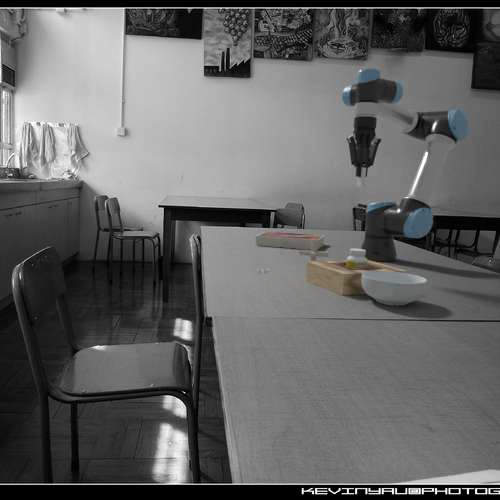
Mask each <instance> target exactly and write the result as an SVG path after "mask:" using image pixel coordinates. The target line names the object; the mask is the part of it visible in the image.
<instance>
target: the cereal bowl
mask: <svg viewBox="0 0 500 500" xmlns="http://www.w3.org/2000/svg"><path fill="white" fill-rule="evenodd" d="M361 282H362V287H363V289H364V291H365V292H366V293H367V294H366V295H368V296H369V297H371V298H372V299H373V300H375V301H376V302H377V303H378V304H381V305H382V304H383V305H385V306H386V305H388V306H393V305H394V306H395V305H396V306H395V307H397V306H398V307H400V306H399V305H402V306H406V305H407V304H409V303H413V302H416V301H418V300H420V299H421V298H422V297H424V295H425V293H426V290H427V284H428V280H427V278H425V277H422V276H419V275H416V274H411V273H407V274H406V273H400V272H391V271H367V272H364V273H362V278H361ZM405 304H406V305H405Z"/></svg>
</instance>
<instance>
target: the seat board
mask: <svg viewBox="0 0 500 500" xmlns="http://www.w3.org/2000/svg"><path fill="white" fill-rule="evenodd" d="M367 261H368V262H367V268H350V267H347V266H346V262H347V259H345V260H321V261H320V260H318V261H317V260H316V261H312V262H311V261H307V265H306V266H307V267H306V282H309V283H311V284H314V285H316V286H319V287H321V288H322V289H326V290H329V291H331V292H333V293H336V294H338V295H341V296H351V294H354V295H365V294H366V295H368V294H367V293H366V292H365V291H364V289H363V287H362V282H361V278H362V273H364V272H367V271H391V272H400V273H406V274H408V270H405V269H403V268H398V267H394V266H391V265H388V264H383V263H380V262H378V261H372V260H367Z"/></svg>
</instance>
